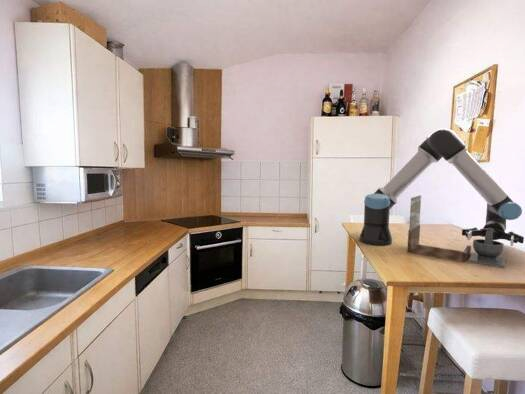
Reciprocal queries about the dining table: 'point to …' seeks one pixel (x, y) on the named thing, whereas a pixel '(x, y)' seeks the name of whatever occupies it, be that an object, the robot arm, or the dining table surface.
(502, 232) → the robot arm
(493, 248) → the mortar and pestle
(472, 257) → the slate pad
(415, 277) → the dining table surface
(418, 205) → the brown piece
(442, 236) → the dining table surface
